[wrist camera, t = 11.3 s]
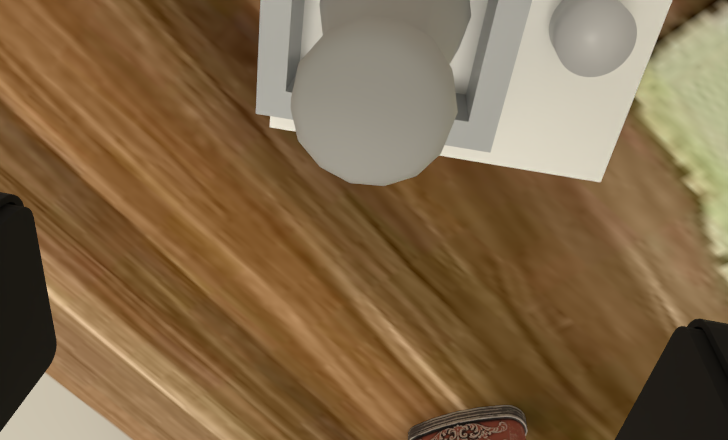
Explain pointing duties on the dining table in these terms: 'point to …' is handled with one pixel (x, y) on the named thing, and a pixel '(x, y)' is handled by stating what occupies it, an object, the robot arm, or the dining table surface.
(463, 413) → the lighter
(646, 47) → the housing
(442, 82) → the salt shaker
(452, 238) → the dining table surface
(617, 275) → the dining table surface
